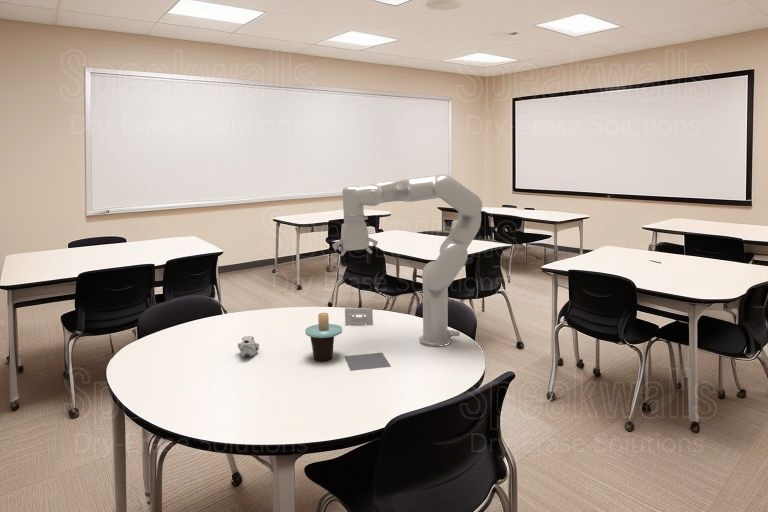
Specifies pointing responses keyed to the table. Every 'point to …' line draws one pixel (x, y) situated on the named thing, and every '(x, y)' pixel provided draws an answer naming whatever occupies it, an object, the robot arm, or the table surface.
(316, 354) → the coffee mug
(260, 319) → the table surface
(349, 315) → the cassette
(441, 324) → the robot arm
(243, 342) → the skull
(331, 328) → the lid
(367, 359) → the mat
